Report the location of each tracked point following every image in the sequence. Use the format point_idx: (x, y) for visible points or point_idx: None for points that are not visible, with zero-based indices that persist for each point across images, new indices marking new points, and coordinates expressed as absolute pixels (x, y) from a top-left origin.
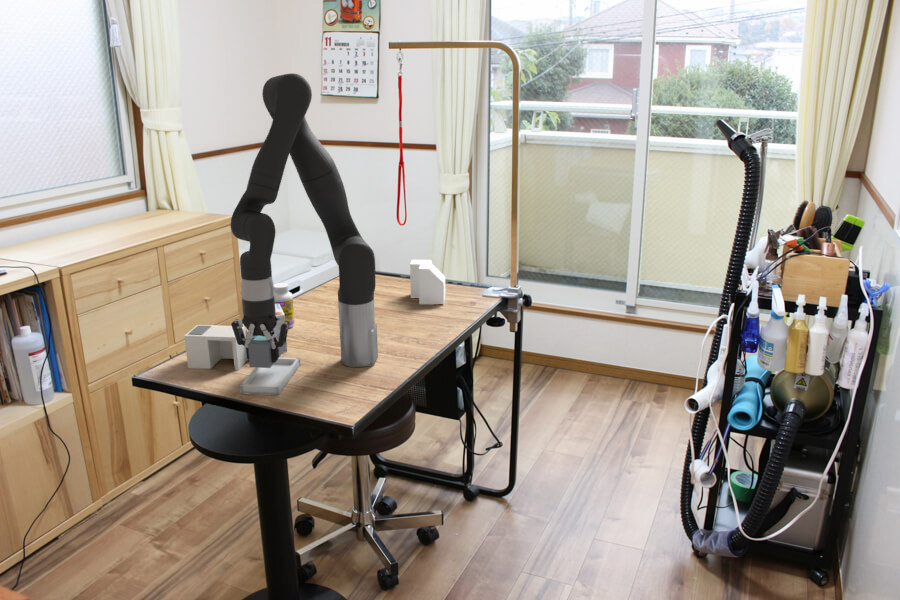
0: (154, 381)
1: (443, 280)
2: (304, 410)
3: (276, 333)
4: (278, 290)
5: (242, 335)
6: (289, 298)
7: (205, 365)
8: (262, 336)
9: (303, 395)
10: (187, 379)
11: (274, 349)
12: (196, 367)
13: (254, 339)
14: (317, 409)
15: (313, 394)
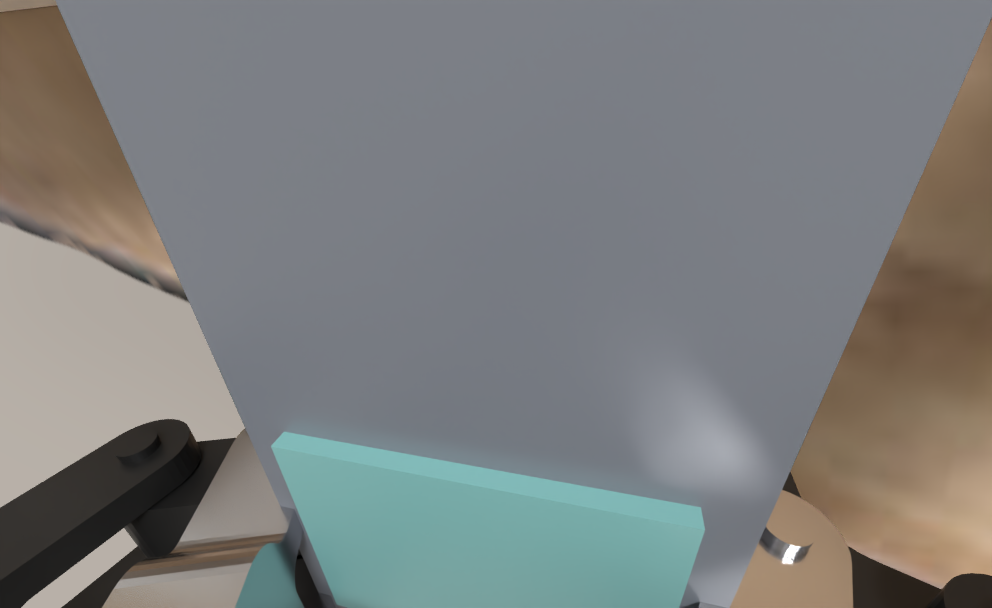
0: (18, 224)
1: None
2: (884, 537)
3: (788, 196)
4: None
5: (73, 545)
6: None
7: (32, 3)
8: (408, 498)
9: (888, 390)
10: (113, 191)
11: None
12: (5, 9)
13: (342, 588)
14: (976, 541)
15: (980, 382)
